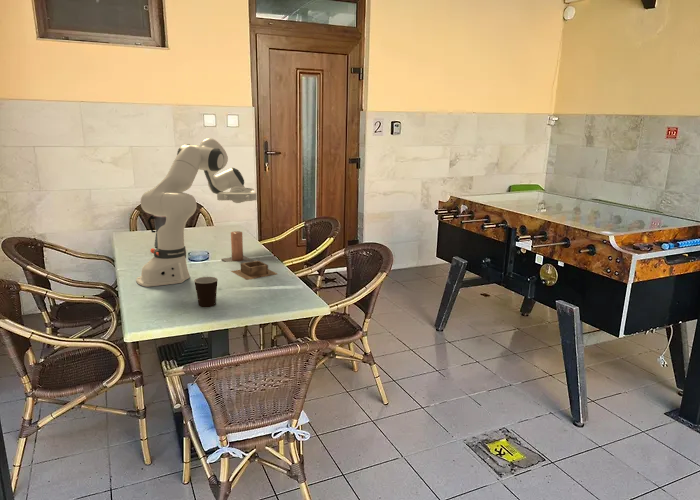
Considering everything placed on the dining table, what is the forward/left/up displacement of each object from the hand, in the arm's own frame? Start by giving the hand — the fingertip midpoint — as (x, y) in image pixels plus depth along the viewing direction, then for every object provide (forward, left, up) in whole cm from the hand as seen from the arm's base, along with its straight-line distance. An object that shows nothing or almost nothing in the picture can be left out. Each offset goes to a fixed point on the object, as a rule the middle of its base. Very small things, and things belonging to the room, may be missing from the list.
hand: (236, 198), depth 269 cm
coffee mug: (-42, -61, -30) cm, 80 cm away
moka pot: (-27, +39, -30) cm, 56 cm away
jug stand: (-10, -37, -30) cm, 48 cm away
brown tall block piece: (-6, -12, -29) cm, 32 cm away
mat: (-6, -11, -30) cm, 32 cm away
